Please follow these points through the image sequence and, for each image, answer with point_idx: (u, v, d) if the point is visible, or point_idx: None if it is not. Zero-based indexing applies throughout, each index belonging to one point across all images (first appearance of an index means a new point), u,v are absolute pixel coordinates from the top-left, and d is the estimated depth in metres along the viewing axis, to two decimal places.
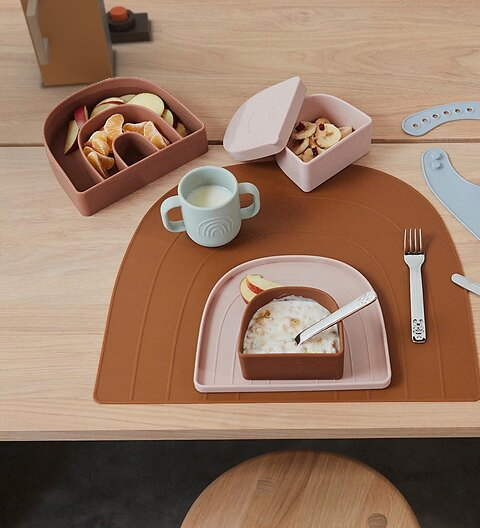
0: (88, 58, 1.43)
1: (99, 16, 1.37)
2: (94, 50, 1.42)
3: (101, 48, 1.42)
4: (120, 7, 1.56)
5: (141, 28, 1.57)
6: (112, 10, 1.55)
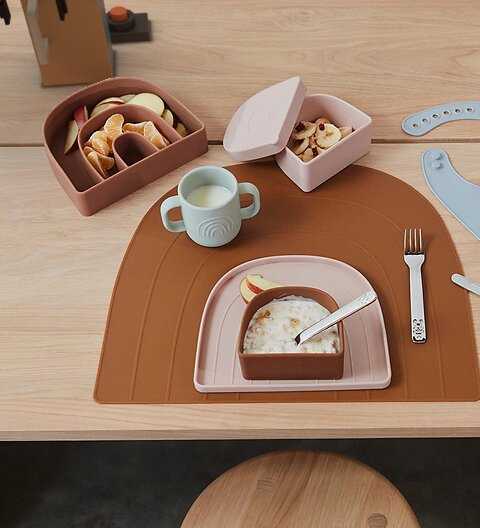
0: (88, 58, 1.43)
1: (99, 16, 1.37)
2: (94, 50, 1.42)
3: (101, 48, 1.42)
4: (120, 7, 1.56)
5: (141, 28, 1.57)
6: (112, 10, 1.55)
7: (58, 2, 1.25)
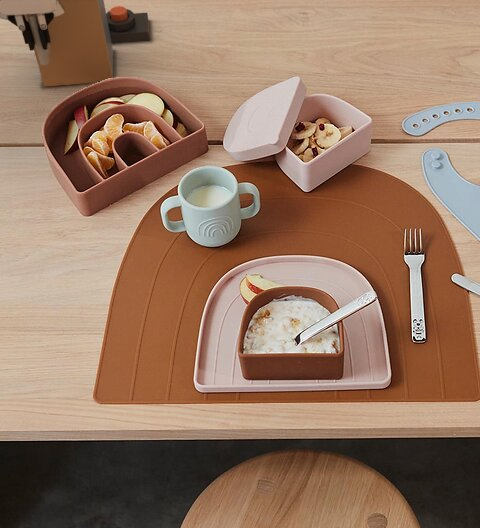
0: (88, 58, 1.43)
1: (99, 16, 1.37)
2: (94, 50, 1.42)
3: (101, 48, 1.42)
4: (120, 7, 1.56)
5: (141, 28, 1.57)
6: (112, 10, 1.55)
7: (41, 32, 1.28)
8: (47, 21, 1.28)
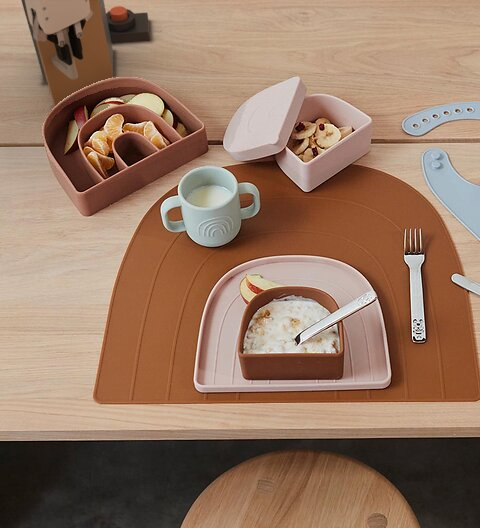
0: (93, 64, 1.42)
1: (100, 16, 1.37)
2: (97, 54, 1.41)
3: (103, 49, 1.42)
4: (120, 7, 1.56)
5: (141, 28, 1.57)
6: (112, 10, 1.55)
7: (78, 41, 1.27)
8: (80, 28, 1.27)
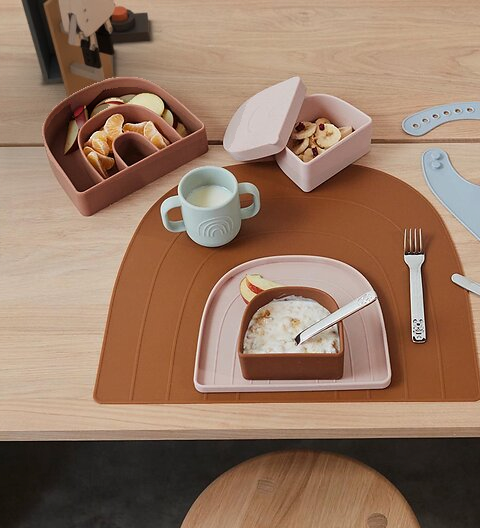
0: None
1: None
2: (101, 55, 1.41)
3: None
4: (120, 7, 1.56)
5: (141, 28, 1.57)
6: None
7: (110, 36, 1.28)
8: None
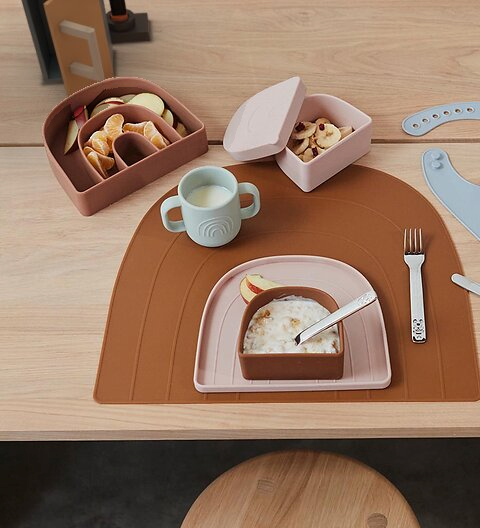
0: None
1: (101, 16, 1.37)
2: (101, 55, 1.41)
3: (105, 50, 1.41)
4: None
5: (141, 28, 1.57)
6: None
7: None
8: None
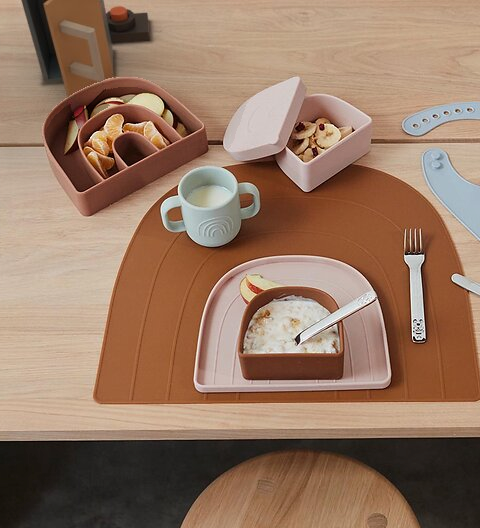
0: None
1: (101, 16, 1.37)
2: (101, 55, 1.41)
3: (105, 50, 1.41)
4: (120, 7, 1.56)
5: (141, 28, 1.57)
6: (112, 10, 1.55)
7: None
8: None
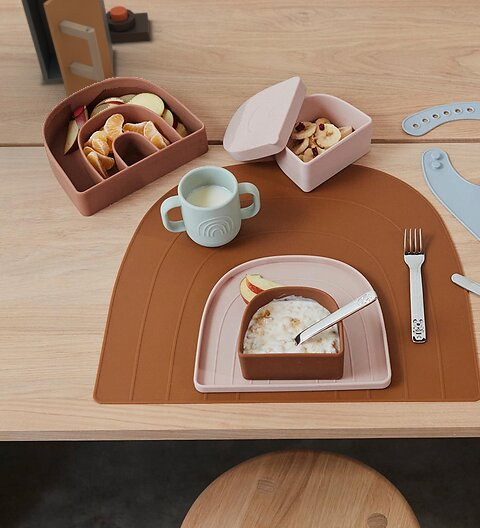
0: None
1: (101, 16, 1.37)
2: (101, 55, 1.41)
3: (105, 50, 1.41)
4: (120, 7, 1.56)
5: (141, 28, 1.57)
6: (112, 10, 1.55)
7: None
8: None
